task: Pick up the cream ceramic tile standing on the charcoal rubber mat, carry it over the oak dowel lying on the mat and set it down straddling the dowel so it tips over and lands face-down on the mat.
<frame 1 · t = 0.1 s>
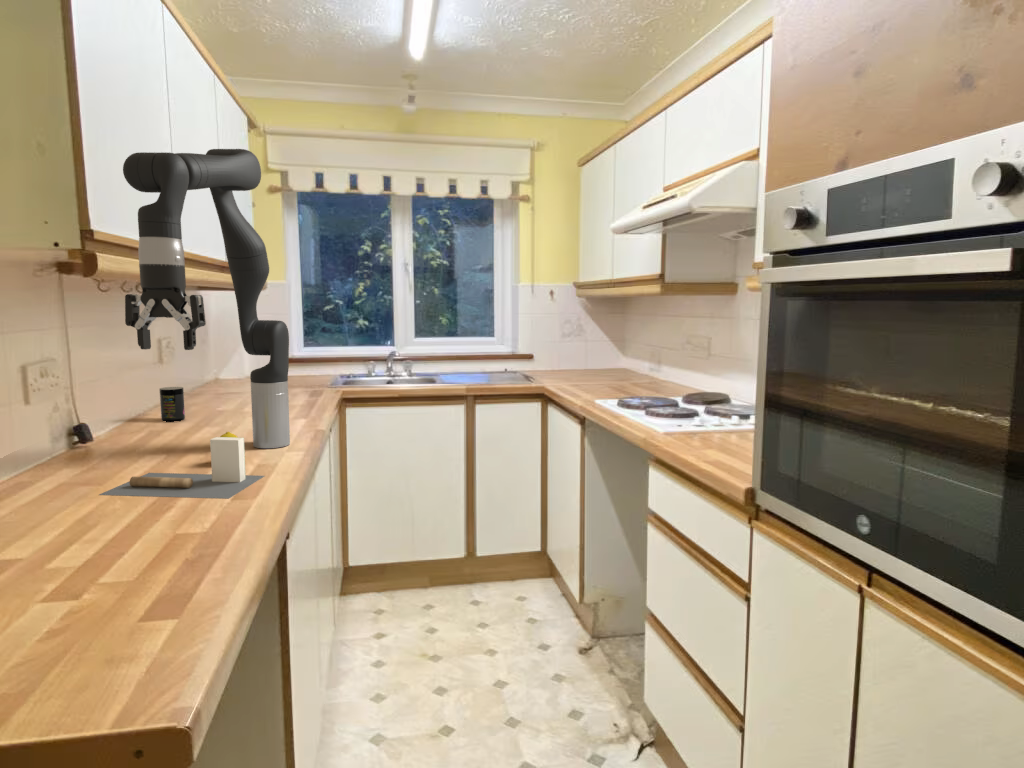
hand: (167, 349, 120), 29 cm above the counter, tool pointing down, fingers open, 8 cm apart
tile: (229, 480, 133), point 1 cm above the counter, touching mat
mat: (186, 487, 130), on the counter
supplement container: (173, 421, 200), on the counter
lemon: (229, 466, 148), on the counter
dowel: (161, 489, 128), resting on mat
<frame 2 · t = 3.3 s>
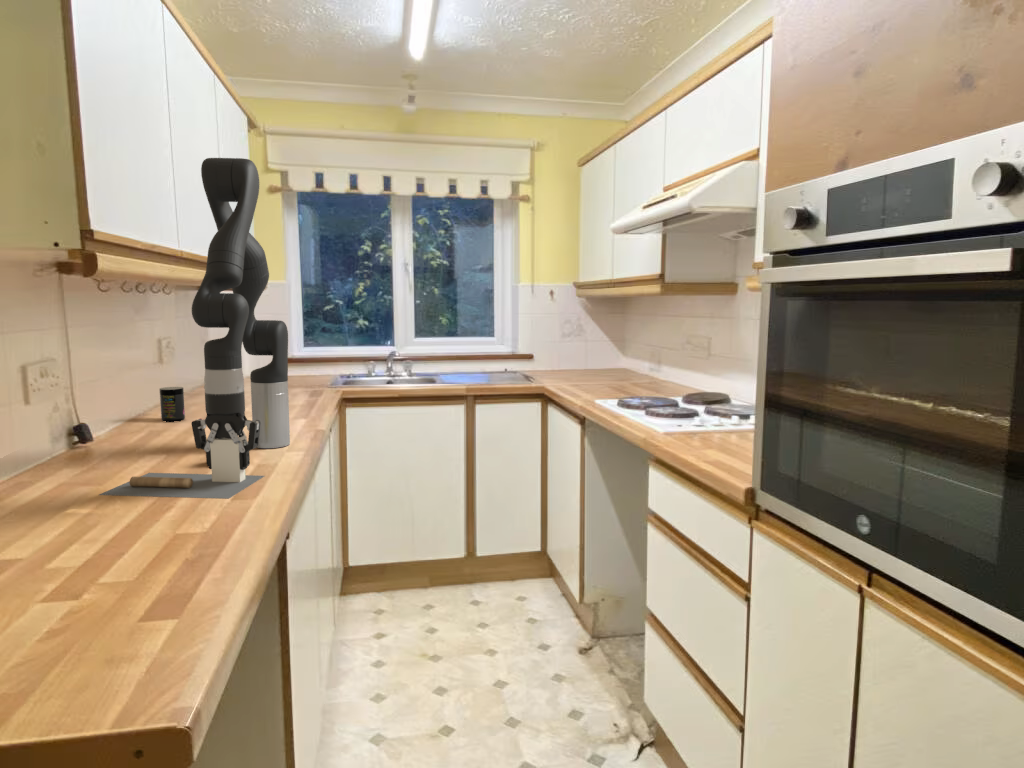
hand: (228, 468, 133), 3 cm above the counter, tool pointing down, fingers closed on tile, 6 cm apart
tile: (229, 480, 133), point 1 cm above the counter, touching gripper, mat
everything else where it was.
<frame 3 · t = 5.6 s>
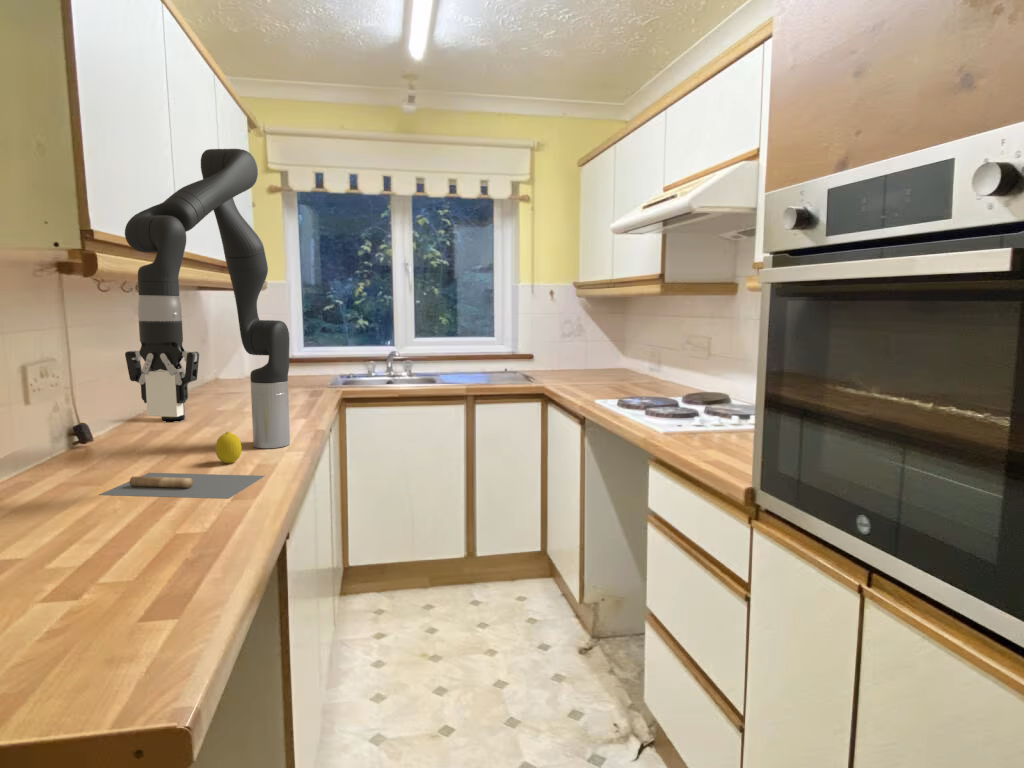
hand: (164, 402, 126), 18 cm above the counter, tool pointing down, fingers closed on tile, 6 cm apart
tile: (165, 415, 127), point 15 cm above the counter, touching gripper
everything else where it was.
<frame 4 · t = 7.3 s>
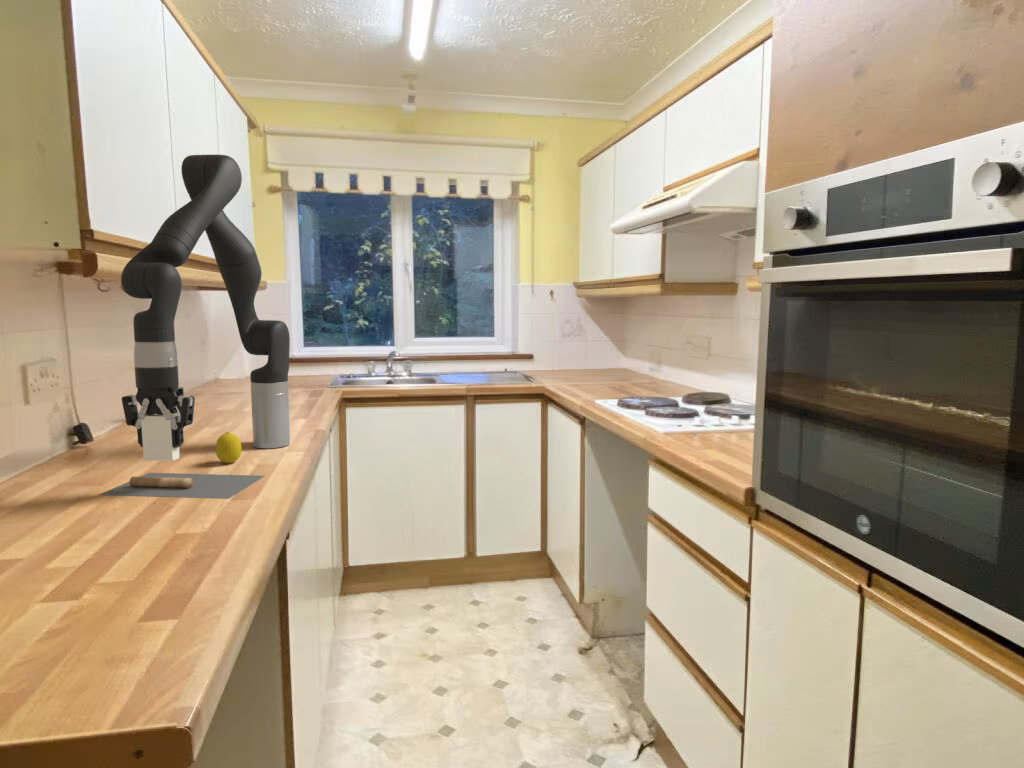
hand: (161, 446, 127), 9 cm above the counter, tool pointing down, fingers closed on tile, 6 cm apart
tile: (161, 458, 128), point 6 cm above the counter, touching gripper
everything else where it was.
when the fingers open (6 cm above the counter, at t = 8.4 s): tile drops 2 cm and tips over, resting on mat.
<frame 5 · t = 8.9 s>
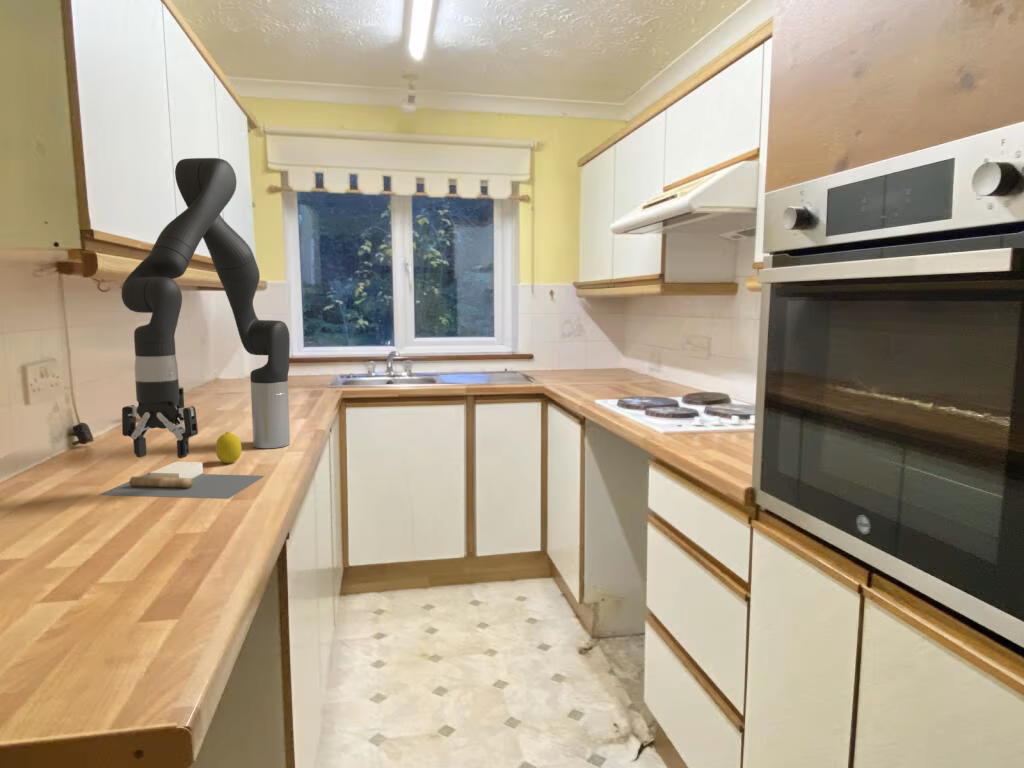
hand: (161, 456, 128), 7 cm above the counter, tool pointing down, fingers open, 8 cm apart
tile: (165, 479, 129), point 2 cm above the counter, tilted 90°, touching mat
everything else where it was.
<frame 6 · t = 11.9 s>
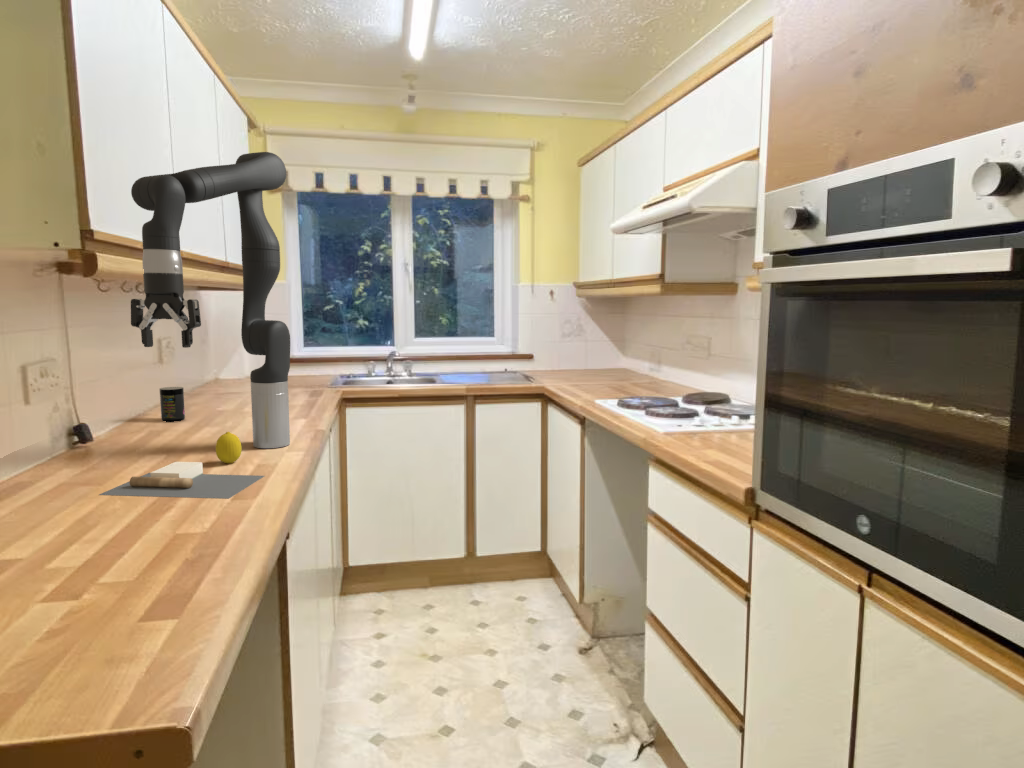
hand: (167, 347, 137), 28 cm above the counter, tool pointing down, fingers open, 8 cm apart
nothing on the counter moved.
at the end: tile tilted 90°; tile inside the target area (1.5 cm from its centre), point 1.8 cm above the counter; the gripper is holding nothing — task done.
